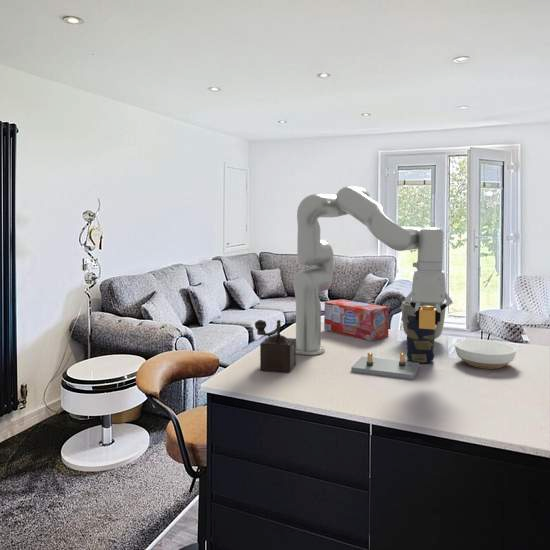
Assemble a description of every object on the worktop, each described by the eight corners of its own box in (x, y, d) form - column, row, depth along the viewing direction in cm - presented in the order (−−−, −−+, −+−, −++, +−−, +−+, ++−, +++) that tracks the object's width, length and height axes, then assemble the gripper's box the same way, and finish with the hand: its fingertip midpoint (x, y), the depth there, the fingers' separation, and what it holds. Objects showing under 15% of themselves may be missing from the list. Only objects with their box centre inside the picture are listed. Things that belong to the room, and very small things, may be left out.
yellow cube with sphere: (419, 328, 154) (419, 307, 153) (421, 325, 158) (421, 304, 157) (434, 329, 152) (435, 308, 151) (436, 326, 156) (436, 305, 155)
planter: (409, 334, 211) (410, 298, 209) (449, 339, 201) (451, 302, 199) (394, 342, 197) (395, 304, 195) (436, 348, 187) (438, 308, 185)
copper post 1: (365, 369, 162) (366, 353, 161) (367, 367, 164) (367, 352, 163) (372, 370, 161) (372, 354, 160) (373, 368, 163) (374, 352, 162)
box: (390, 337, 207) (390, 305, 206) (371, 342, 199) (371, 309, 197) (342, 326, 228) (342, 298, 226) (323, 330, 219) (323, 301, 218)
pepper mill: (266, 362, 171) (265, 312, 169) (296, 364, 168) (296, 313, 166) (253, 375, 156) (252, 321, 154) (286, 378, 153) (285, 322, 151)
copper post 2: (398, 370, 161) (398, 354, 160) (399, 368, 163) (399, 352, 162) (404, 370, 160) (405, 354, 159) (405, 369, 162) (406, 353, 161)
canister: (435, 365, 166) (437, 314, 164) (407, 363, 168) (408, 313, 166) (432, 357, 175) (433, 309, 173) (405, 356, 177) (406, 308, 175)
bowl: (514, 359, 172) (515, 343, 172) (516, 375, 155) (517, 357, 154) (456, 353, 180) (457, 337, 180) (452, 368, 163) (452, 350, 162)
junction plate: (351, 371, 160) (351, 367, 159) (361, 360, 172) (361, 356, 172) (413, 379, 151) (413, 374, 151) (419, 367, 164) (419, 362, 164)
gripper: (400, 266, 153) (398, 323, 155) (457, 269, 146) (454, 327, 148) (404, 264, 160) (402, 318, 162) (459, 266, 153) (456, 323, 155)
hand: (427, 322), depth 155 cm, fingers closed on yellow cube with sphere, 4 cm apart
